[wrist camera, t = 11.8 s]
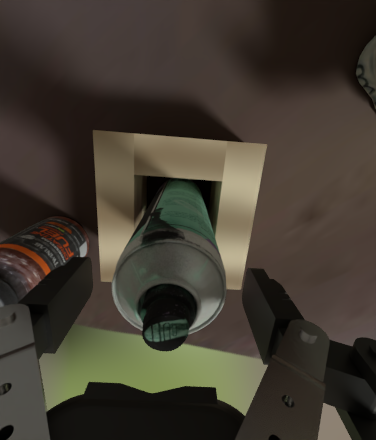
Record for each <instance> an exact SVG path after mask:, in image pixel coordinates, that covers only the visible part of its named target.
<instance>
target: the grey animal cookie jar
mask: <svg viewBox="0 0 376 440" xmlns="http://www.w3.org/2000/svg"><path fill="white" fill-rule="evenodd" d="M356 75H357V78H358V81H359V83H360V84H361V85H362V87H363V88H364V89H365V90H366V92H367V93H368V95H369V96H370V97H371V98H372V100H373V103H374V107H375V109H376V36H375V37H374V38H373V39H372V40H371V41H370V42H369V43H368V44H367V45H366V47H365V48H364V50H363V52H362V53H361V55H360V57H359V61H358V65H357V70H356Z"/></svg>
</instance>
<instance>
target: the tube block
mask: <svg viewBox="0 0 376 440" xmlns="http://www.w3.org/2000/svg"><path fill="white" fill-rule="evenodd" d="M93 144H94V162H95V180H96V198H97V216H98V235H99V253H100V271H101V281H103V282H112V280H113V275H114V272H115V269H116V264H117V262H118V260H119V258H120V256H121V254H122V252H123V250H124V249H125V247H126V245H127V243H128V242H129V240H130V238H131V236H132V235H133V233H134V231H135V229H136V228H137V226H138V224H139V223H140V221H141V219H142V217H143V216H144V214H145V212H146V210H147V176H159V177H172V178H185V179H198V180H211V181H212V184H211V193H210V202H209V211H208V216H209V220H210V223H211V226H212V229H213V233H214V236H215V239H216V242H217V246H218V249H219V252H220V255H221V259H222V262H223V265H224V269H225V273H226V288H227V289H237V290H241V285H242V280H243V274H244V269H245V263H246V258H247V252H248V247H249V241H250V236H251V230H252V225H253V219H254V214H255V208H256V203H257V197H258V192H259V186H260V181H261V175H262V170H263V164H264V159H265V153H266V148H267V144H255V143H243V142H231V141H219V140H207V139H195V138H183V137H171V136H159V135H147V134H135V133H123V132H111V131H99V130H93Z"/></svg>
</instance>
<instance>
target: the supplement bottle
mask: <svg viewBox="0 0 376 440" xmlns="http://www.w3.org/2000/svg"><path fill="white" fill-rule="evenodd" d="M88 250H89V240H88V236H87V234H86V232H85V230H84V229H83V228H82V227H81V226H80V225H79V224H78V223H77V222H76V221H73V220H71V219H69V218H66V217H61V216H54V217H49V218H47V219H44V220H42V221H40V222H38V223H36V224H34V225H33V226H31V227H29V228H27V229H25V230H23V231H21V232H19V233H17V234H15V235H13V236H11V237H10V238H8V239H6V240H4V241H2V242H0V307H3V306H6V305H10V304H17V303H18V302H19V301H20V300H21V299H22V298H23V297H24V296H25V295H26V294H27V293H28V292H29V291H30V290H32V289H33V288H34V287H35V286H36V285H38V283H39V282H40V281H41V280H42V279H44V277H45V276H46V275H47V274H48V273H49V272H50V271H52V270H54V269H56V268H58V267H59V266H64V265H65V264H66V263H67V262H68V261H69V260H70V259H71V258H72V257H86V255H87V253H88Z"/></svg>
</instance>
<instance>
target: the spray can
mask: <svg viewBox="0 0 376 440" xmlns="http://www.w3.org/2000/svg"><path fill="white" fill-rule="evenodd" d="M226 292H227V288H226V273H225V269H224V265H223V262H222V259H221V255H220V252H219V249H218V246H217V242H216V239H215V236H214V233H213V229H212V226H211V223H210V220H209V216H208V213H207V210H206V207H205V203H204V200H203V197H202V194H201V191H200V189H199V187H198V186H197V185H196V184H195V183H194V182H193V181H191V180H189V179H185V178H171V179H169V180H167V181H166V182H164V183H163V184H162V185H161V187H160V188H159V189H158V191H157V193H156V195H155V196H154V198H153V200H152V202H151V203H150V205H149V207H148V209H147V210H146V212H145V214H144V216H143V217H142V219H141V221H140V223H139V224H138V226H137V228H136V229H135V231H134V233H133V235H132V236H131V238H130V240H129V242H128V243H127V245H126V247H125V249H124V250H123V252H122V254H121V256H120V258H119V260H118V262H117V264H116V269H115V272H114V275H113V280H112V295H113V299H114V303H115V305H116V307H117V309H118V310H119V312H120V313H121V314H122V316H123V317H124V318H125V319H126V320H127V321H128V322H129V323H131V324H132V325H133V326H135V327H137V328H138V329H140V330H142V336H143V339H144V341H145V343H146V344H147V345H148V346H150V347H151V348H153V349H156V350H159V351H172V350H174V349H176V348H178V347H179V346H181V345H182V344H183V342H184V341H185V340H186V338H187V336H188V334H191V333H193V332H196V331H198V330H200V329H202V328H204V327H205V326H207V325H208V324H209V323H211V322H212V321H213V320H214V319H215V318H216V317H217V315H218V314H219V312H220V311H221V309H222V307H223V304H224V302H225V298H226Z"/></svg>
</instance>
